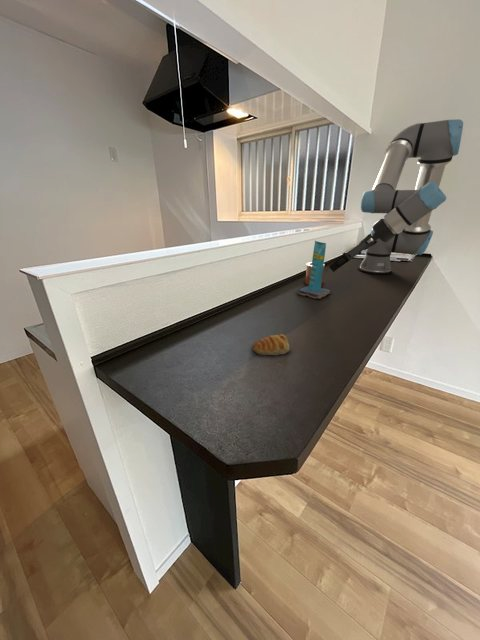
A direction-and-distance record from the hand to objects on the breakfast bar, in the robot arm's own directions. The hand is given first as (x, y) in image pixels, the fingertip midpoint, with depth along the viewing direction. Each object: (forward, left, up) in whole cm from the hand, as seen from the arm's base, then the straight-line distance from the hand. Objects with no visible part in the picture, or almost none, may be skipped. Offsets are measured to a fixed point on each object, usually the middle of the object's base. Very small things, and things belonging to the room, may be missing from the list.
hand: (336, 265), depth 101 cm
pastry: (+49, -1, -13) cm, 51 cm away
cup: (-14, -12, -13) cm, 23 cm away
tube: (0, -7, -11) cm, 13 cm away
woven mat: (0, -7, -13) cm, 15 cm away
